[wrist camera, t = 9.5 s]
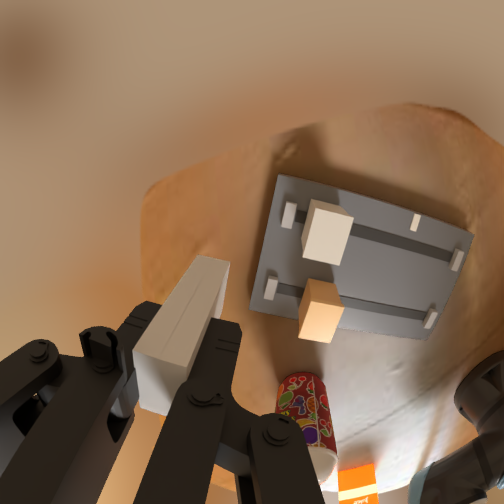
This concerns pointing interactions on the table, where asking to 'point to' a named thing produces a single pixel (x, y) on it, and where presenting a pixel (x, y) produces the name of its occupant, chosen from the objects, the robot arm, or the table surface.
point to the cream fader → (325, 232)
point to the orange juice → (358, 486)
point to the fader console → (362, 261)
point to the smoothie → (310, 418)
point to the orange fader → (319, 311)
